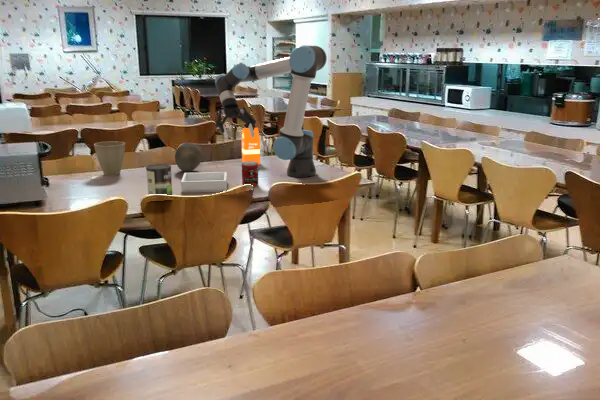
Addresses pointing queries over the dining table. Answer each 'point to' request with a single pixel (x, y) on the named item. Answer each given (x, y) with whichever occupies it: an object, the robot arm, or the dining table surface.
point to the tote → (204, 182)
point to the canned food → (250, 173)
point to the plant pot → (110, 156)
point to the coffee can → (159, 179)
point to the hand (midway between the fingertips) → (240, 136)
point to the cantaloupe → (188, 157)
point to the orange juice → (250, 146)
